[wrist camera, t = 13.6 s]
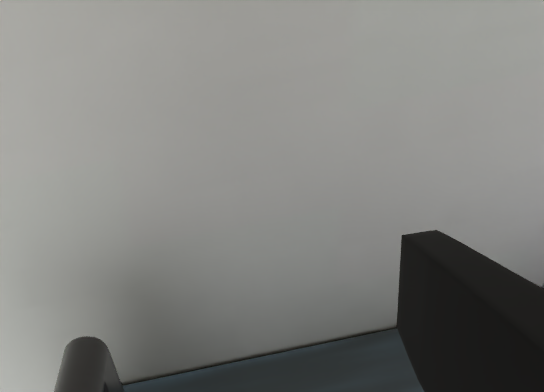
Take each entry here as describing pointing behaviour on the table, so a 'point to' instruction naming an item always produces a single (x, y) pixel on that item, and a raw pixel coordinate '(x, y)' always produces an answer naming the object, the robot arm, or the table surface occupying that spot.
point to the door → (259, 370)
